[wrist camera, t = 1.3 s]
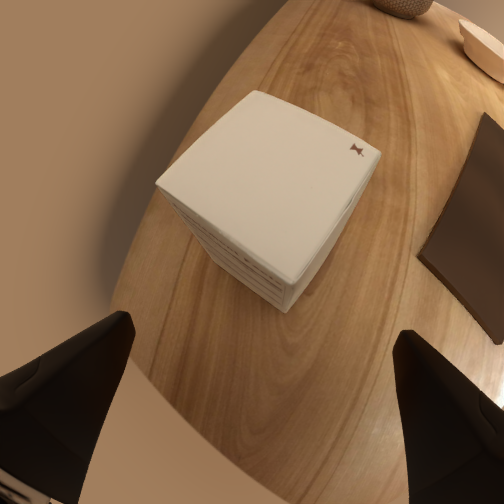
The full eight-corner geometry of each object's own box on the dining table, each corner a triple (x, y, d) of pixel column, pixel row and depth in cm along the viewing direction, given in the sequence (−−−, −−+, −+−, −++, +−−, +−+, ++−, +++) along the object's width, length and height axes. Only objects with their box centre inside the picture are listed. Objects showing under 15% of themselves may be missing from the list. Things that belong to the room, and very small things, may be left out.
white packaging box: (265, 198, 24) (256, 84, 12) (336, 245, 22) (389, 151, 10) (211, 262, 23) (148, 180, 11) (283, 317, 21) (296, 289, 9)
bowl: (460, 66, 31) (473, 38, 24) (442, 32, 37) (450, 10, 29) (527, 112, 28) (542, 91, 20) (502, 68, 33) (512, 49, 26)
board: (496, 345, 18) (501, 344, 17) (416, 257, 21) (421, 253, 20) (536, 173, 23) (539, 170, 22) (482, 115, 27) (484, 111, 26)
